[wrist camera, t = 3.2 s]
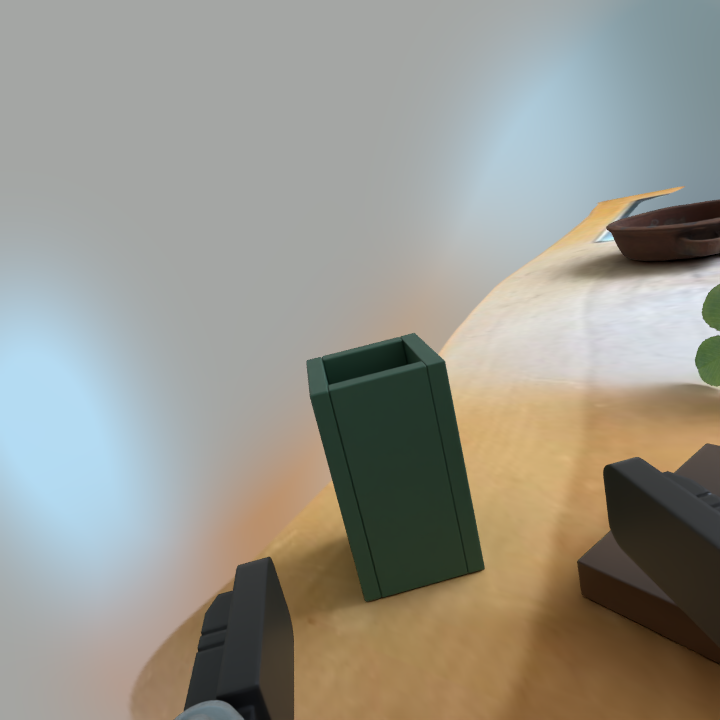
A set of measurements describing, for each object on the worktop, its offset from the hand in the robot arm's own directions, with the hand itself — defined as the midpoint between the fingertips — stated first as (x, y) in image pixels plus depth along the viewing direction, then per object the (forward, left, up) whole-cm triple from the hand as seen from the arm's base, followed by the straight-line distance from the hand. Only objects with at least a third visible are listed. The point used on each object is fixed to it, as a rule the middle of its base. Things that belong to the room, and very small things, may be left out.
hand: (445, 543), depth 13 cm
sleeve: (+5, +9, -7) cm, 12 cm away
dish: (+66, +25, -7) cm, 71 cm away
